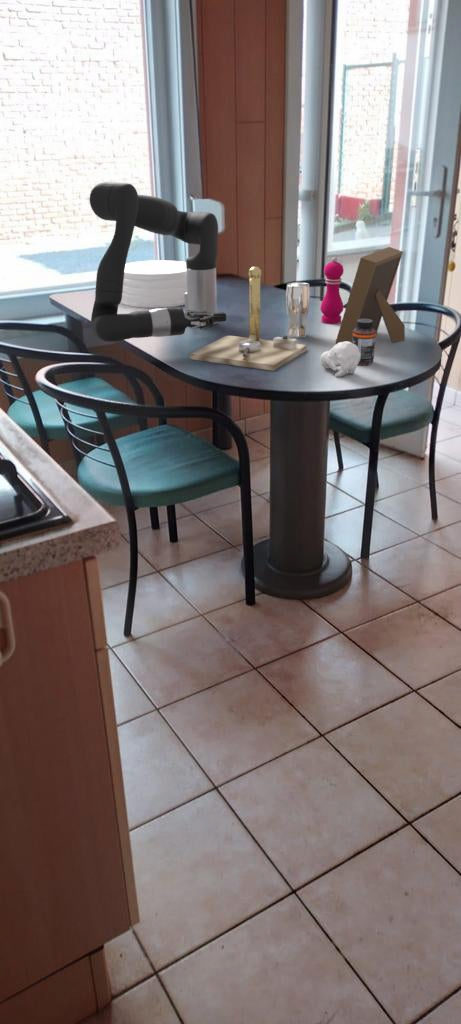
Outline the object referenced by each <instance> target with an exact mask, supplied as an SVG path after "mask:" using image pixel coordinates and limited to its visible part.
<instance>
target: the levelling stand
mask: <svg viewBox="0 0 461 1024" xmlns="http://www.w3.org/2000/svg"><path fill="white" fill-rule="evenodd" d="M297 339H298V338H291V337H288V336H287V335H283V336H282V337H280V336H275V337H274V338H273V339H272V340H267V339H263V338H262V339H261V338H260V340H258V342H260V351H258V352H252V353H248V354H247V356H246V357H243V353H244V352H241V351H239V349H238V343H239V342H241V341H246V340H249V337H246V336H245V337H244V336H237V335H236V336H235V335H225V336H223V337H221V338H220V339H217V340H216V341H213V342H211V343H209V344H207V345H205V346H203V347H201V348H199V349H197V350H195V351H193V352H191V353H189V356H190V357H189V359H190V360H193V361H194V360H195V361H203V362H208V363H216V364H221V365H222V364H224V365H230V366H231V365H232V366H237V367H244V368H251V369H259V370H266V371H273V372H275V371H277V370H278V369H279V368H281V367H282V366H284V365H286V364H287V363H289V362H290V361H292V360H293V359H295V358H296V357H298V356H300V355H302V354H303V353H305V352H306V351H308V350H307V346H308V345H307V344H302V343H300V344H299V343H298V342H297V341H298V340H297Z"/></svg>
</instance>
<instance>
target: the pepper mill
mask: <svg viewBox="0 0 461 1024" xmlns="http://www.w3.org/2000/svg"><path fill="white" fill-rule="evenodd" d="M323 274H324V275H325V277H326V278H325V279H324V280H325V284H326V292H325V294H324V297H323V299H322V301H321V304H320V312H321V313H322V314H323V315H321V320H320V321H321V323H323V324H326V323H327V324H328V325H337V324H341V323H342V316H341V314H342V313H343V312H344V302H343V300H342V297H341V295H340V294H341V293H340V284H341V283H342V278H341V277H342V276H343V274H344V266H343V264H342V263H341V262H338V258H337V257H336V256H333V257H332V258H331V261H330V262H328V263H327V264H326V265H325V266H324V269H323Z"/></svg>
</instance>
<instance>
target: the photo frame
mask: <svg viewBox="0 0 461 1024" xmlns="http://www.w3.org/2000/svg"><path fill="white" fill-rule="evenodd" d="M403 254H404V251H402V250H398V249H396V248H393V247H390V246H388V247H385V248H382V249H380V250H377V251H374V252H372V253H370V254H369V253H368V254H366V255H364V256H361V257H360V259H359V263H358V266H357V270H356V273H355V276H354V279H353V282H352V285H351V290H350V293H349V296H348V299H347V303H346V306H345V311H344V313H343V318H341V322H340V327H339V330H338V333H337V336H336V340H335V345H337V344H338V343H339V342H344V341H348V342H351V343H352V336H353V330H354V328H356V326H357V320H359V319H370V320H372V321H373V325H372V328H374V329H375V331H376V334H377V333H378V331H379V328H380V324H381V320H383V322H384V325H385V327H386V331H387V333H388V336H389V339H390V342H391V343H398V342H403V341H406V340H405V339H406V337H405V335H406V334H405V331H406V330H405V324H404V323H403V321H402V320H401V318H400V317H399V316H398V314H397V312H396V311H395V310H394V309H393V307H392V306H391V304H390V303H389V302H388V299H389V296H390V293H391V291H392V287H393V285H394V281H395V278H396V275H397V272H398V268H399V265H400V263H401V259H402V256H403Z"/></svg>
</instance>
